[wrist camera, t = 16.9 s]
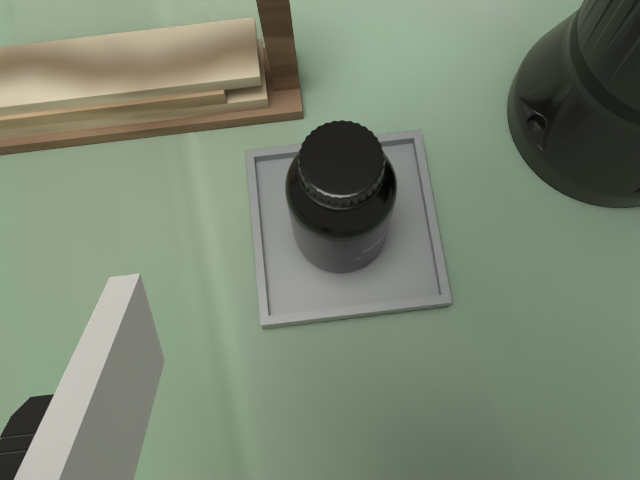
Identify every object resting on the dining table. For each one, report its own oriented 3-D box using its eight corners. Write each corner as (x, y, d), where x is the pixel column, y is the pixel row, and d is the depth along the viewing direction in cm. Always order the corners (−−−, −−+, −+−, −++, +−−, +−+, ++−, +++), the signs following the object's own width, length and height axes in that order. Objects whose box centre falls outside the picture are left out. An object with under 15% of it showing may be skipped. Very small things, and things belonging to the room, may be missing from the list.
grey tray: (248, 159, 47) (245, 150, 46) (418, 138, 47) (420, 129, 46) (263, 328, 43) (260, 325, 42) (448, 306, 43) (452, 302, 42)
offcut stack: (0, 80, 49) (-29, 50, 45) (263, 48, 49) (256, 16, 45) (-3, 140, 47) (-33, 115, 43) (269, 107, 47) (263, 79, 43)
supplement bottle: (385, 277, 44) (400, 223, 32) (290, 271, 44) (271, 215, 32) (390, 187, 46) (405, 106, 34) (298, 182, 46) (283, 100, 34)
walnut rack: (-35, 92, 50) (-226, -79, 33) (295, 52, 50) (272, -138, 33) (-39, 159, 48) (-243, 14, 31) (303, 118, 48) (283, -48, 31)
